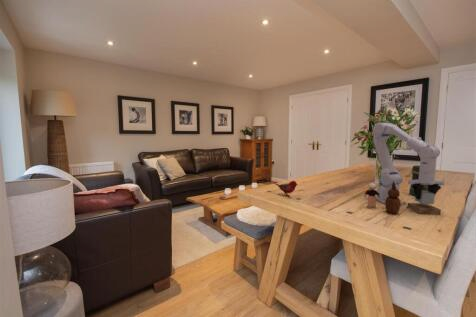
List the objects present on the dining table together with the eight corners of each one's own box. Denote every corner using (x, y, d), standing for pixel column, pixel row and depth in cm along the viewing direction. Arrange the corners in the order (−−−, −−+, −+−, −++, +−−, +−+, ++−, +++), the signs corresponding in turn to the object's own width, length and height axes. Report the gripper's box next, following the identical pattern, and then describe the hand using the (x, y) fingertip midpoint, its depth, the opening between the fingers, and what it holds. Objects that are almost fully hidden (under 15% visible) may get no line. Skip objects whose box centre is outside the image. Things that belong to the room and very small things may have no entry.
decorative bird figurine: (295, 198, 125) (296, 181, 124) (271, 192, 139) (272, 177, 137) (298, 197, 127) (299, 181, 126) (274, 191, 140) (275, 176, 139)
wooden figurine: (385, 209, 109) (388, 179, 107) (399, 211, 105) (402, 181, 104) (383, 212, 104) (386, 181, 102) (398, 215, 100) (401, 183, 99)
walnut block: (418, 214, 103) (419, 208, 102) (407, 208, 112) (407, 202, 111) (440, 215, 101) (440, 209, 101) (426, 209, 110) (427, 203, 110)
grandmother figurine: (375, 206, 114) (377, 182, 112) (380, 208, 110) (382, 183, 108) (360, 206, 113) (362, 182, 112) (365, 208, 110) (367, 183, 108)
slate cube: (421, 203, 104) (422, 193, 103) (414, 200, 109) (415, 190, 108) (433, 204, 103) (434, 193, 103) (426, 200, 108) (427, 191, 107)
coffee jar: (415, 197, 130) (418, 166, 128) (406, 193, 138) (409, 164, 136) (433, 197, 129) (436, 166, 127) (422, 193, 137) (426, 164, 135)
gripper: (415, 172, 101) (413, 201, 103) (451, 173, 99) (447, 202, 101) (406, 170, 108) (403, 196, 110) (439, 171, 106) (436, 198, 108)
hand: (424, 199), depth 106 cm, fingers closed on slate cube, 5 cm apart
